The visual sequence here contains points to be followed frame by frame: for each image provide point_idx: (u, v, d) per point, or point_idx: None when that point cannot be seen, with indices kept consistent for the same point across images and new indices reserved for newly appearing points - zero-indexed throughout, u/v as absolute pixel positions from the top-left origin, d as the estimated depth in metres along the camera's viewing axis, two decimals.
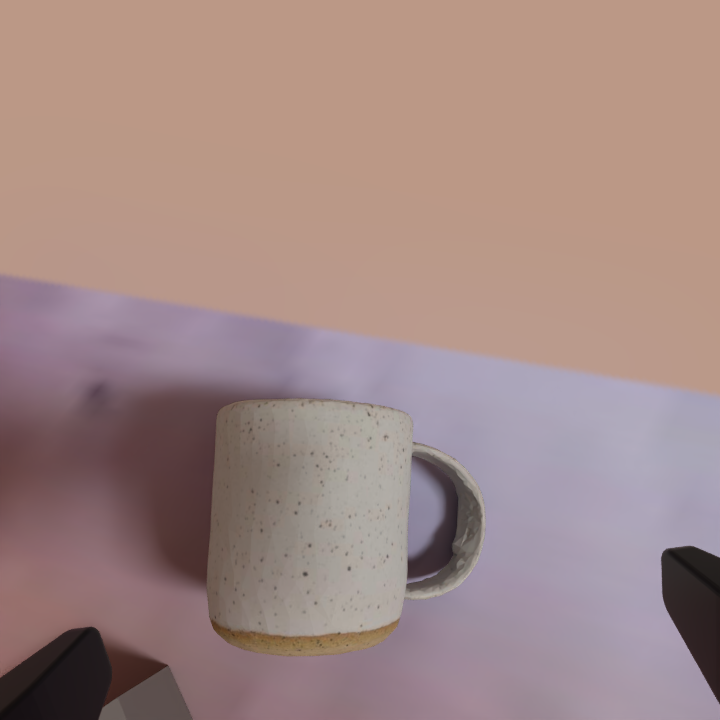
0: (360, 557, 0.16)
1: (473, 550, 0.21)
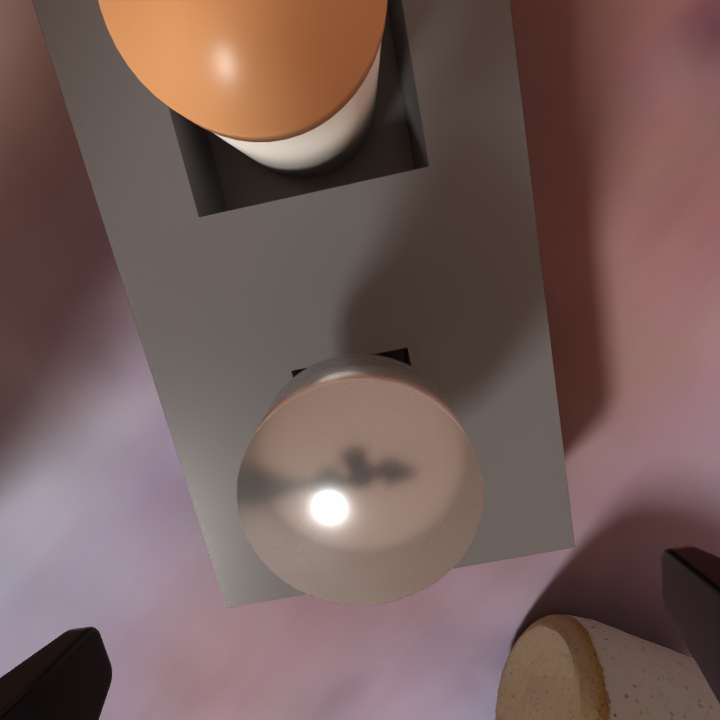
0: None
1: None
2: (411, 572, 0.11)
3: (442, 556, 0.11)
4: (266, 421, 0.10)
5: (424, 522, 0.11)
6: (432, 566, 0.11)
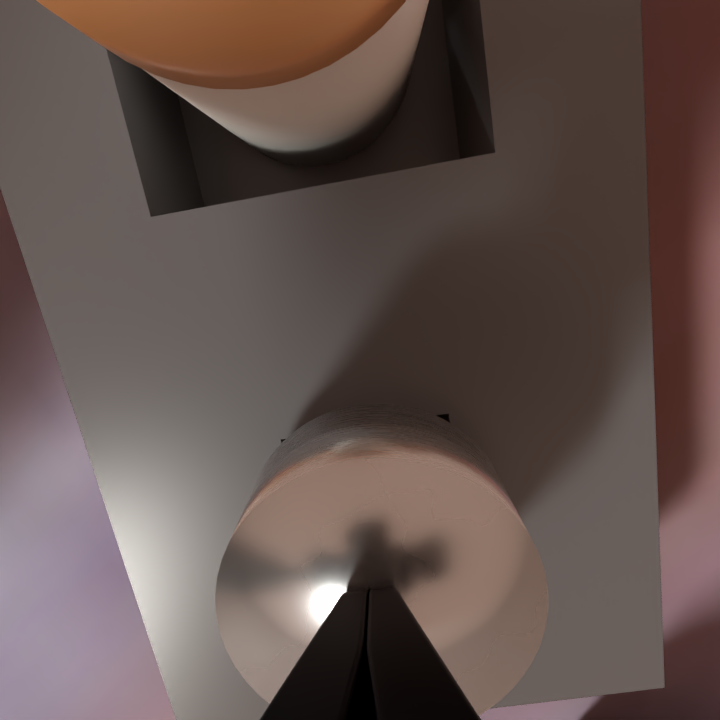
0: None
1: None
2: None
3: (487, 686, 0.08)
4: (257, 506, 0.07)
5: (465, 642, 0.08)
6: (472, 697, 0.08)
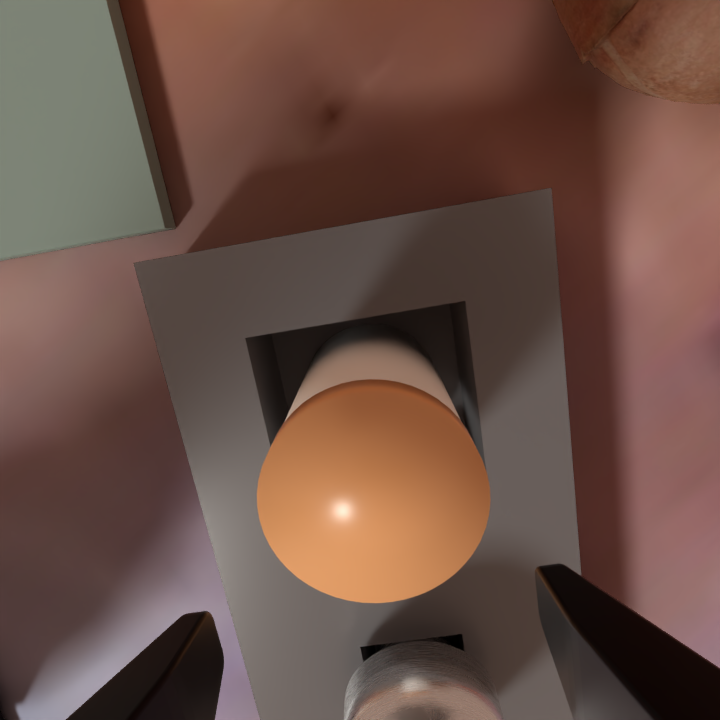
0: None
1: None
2: None
3: None
4: None
5: None
6: None
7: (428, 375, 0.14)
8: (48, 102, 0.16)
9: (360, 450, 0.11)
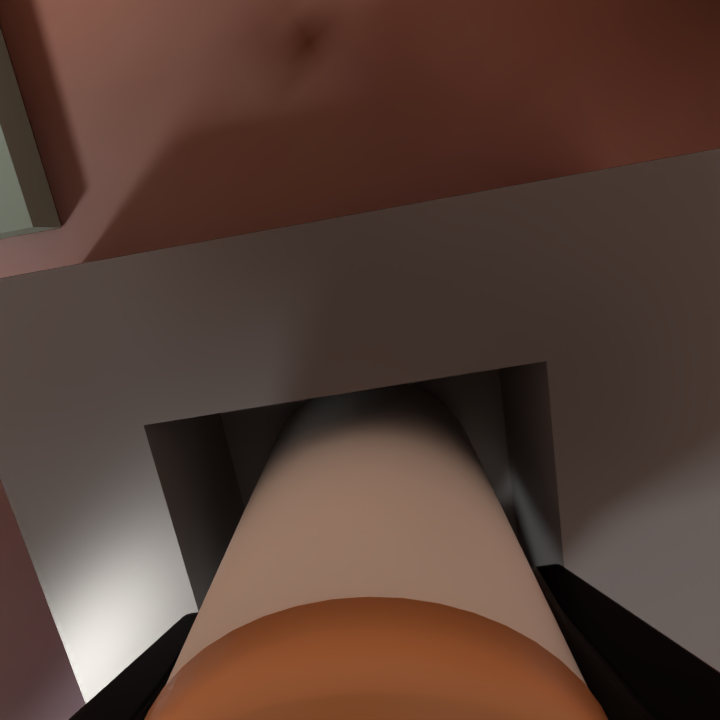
0: None
1: None
2: None
3: None
4: None
5: None
6: None
7: (485, 517, 0.07)
8: None
9: None
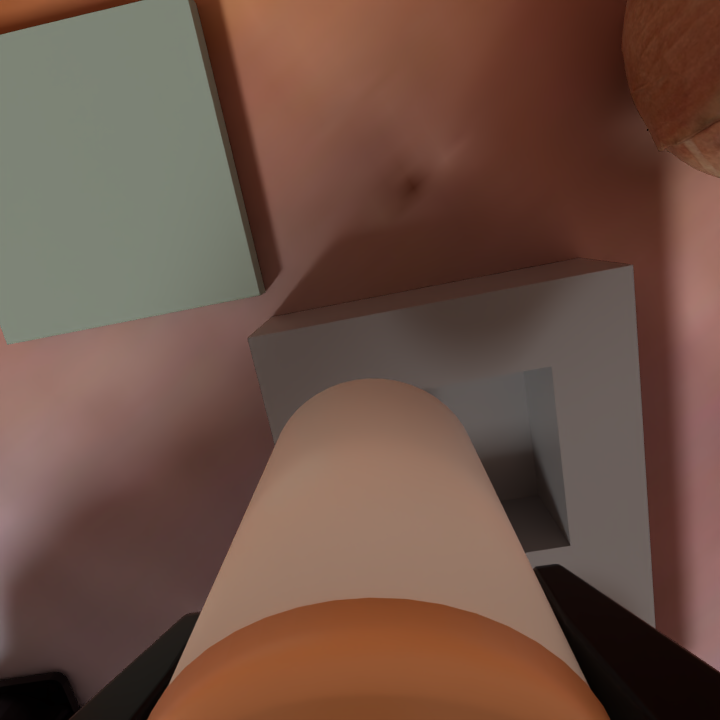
0: None
1: None
2: None
3: None
4: None
5: None
6: None
7: (486, 517, 0.07)
8: (155, 184, 0.18)
9: None
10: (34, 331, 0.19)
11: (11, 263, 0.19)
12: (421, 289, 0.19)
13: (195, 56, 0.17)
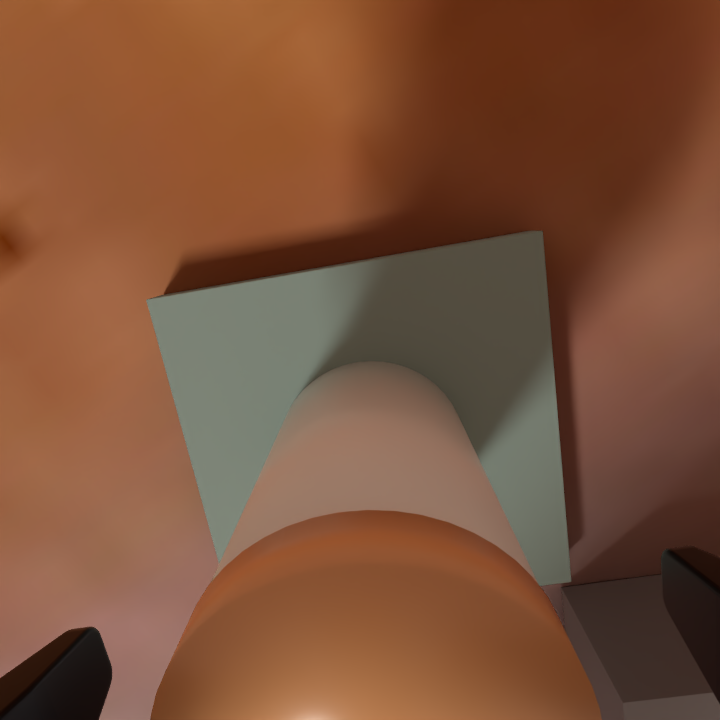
0: None
1: None
2: None
3: None
4: None
5: None
6: None
7: (464, 467, 0.08)
8: None
9: (350, 669, 0.05)
10: None
11: None
12: None
13: (540, 309, 0.13)
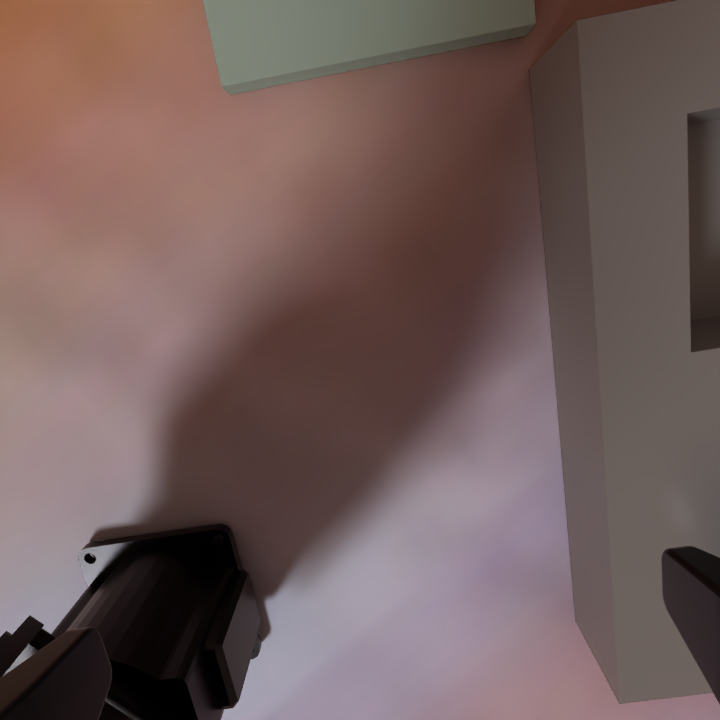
0: None
1: None
2: None
3: None
4: None
5: None
6: None
7: None
8: None
9: None
10: (256, 69, 0.16)
11: None
12: None
13: None
